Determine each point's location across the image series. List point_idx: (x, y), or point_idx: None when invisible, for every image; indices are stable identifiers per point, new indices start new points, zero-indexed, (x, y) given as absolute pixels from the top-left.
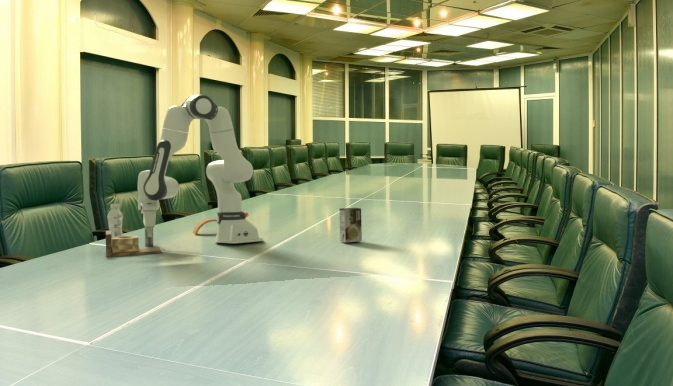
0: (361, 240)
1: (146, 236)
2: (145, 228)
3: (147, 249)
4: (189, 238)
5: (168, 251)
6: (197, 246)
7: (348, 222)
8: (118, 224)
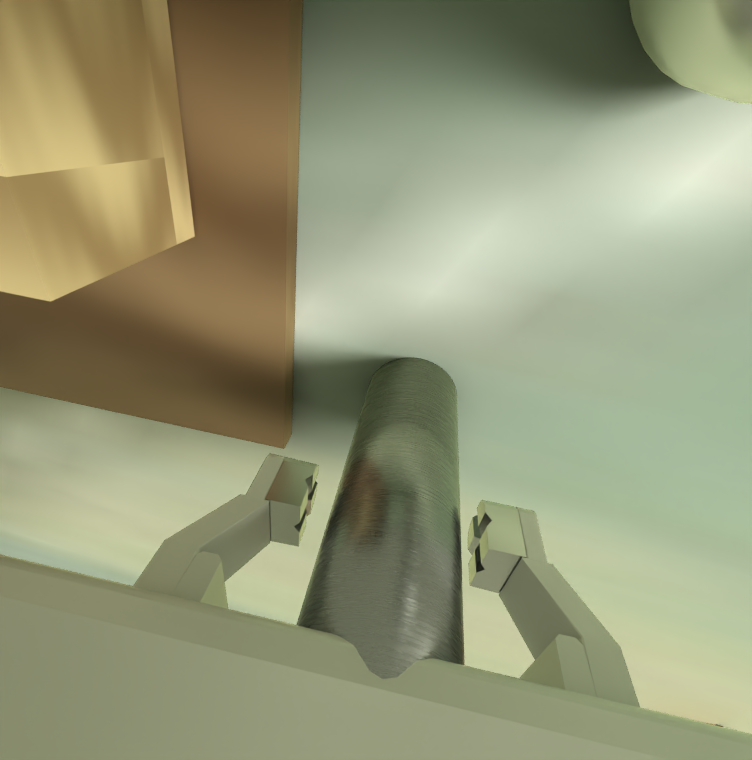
0: None
1: (360, 460)
2: (346, 580)
3: (55, 303)
4: (746, 725)
5: (70, 429)
6: (264, 602)
7: None
8: None
